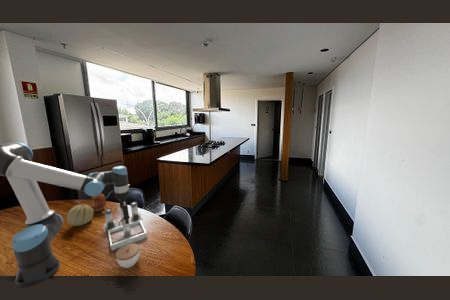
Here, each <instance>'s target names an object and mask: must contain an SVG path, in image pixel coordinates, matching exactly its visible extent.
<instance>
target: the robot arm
mask: <svg viewBox="0 0 450 300" xmlns="http://www.w3.org/2000/svg"><path fill="white" fill-rule="evenodd" d="M33 157H34V152H33V150H32V148H31V147H30V146H28V145H27V144H25V143H22V142H20V141H19V142H16V141H14V142H13V141H12V142H11V141H10V142H4V143H0V176H2V177H6V179H7V181H8V182H9V184H10V186H11V188H12V190H13V191H14V195H15V197H16V198H17V200H18V202H19V204H20V206H21V208H22V210H23V212H24V214H25V216H26V220H25V222H24V224H25V226H26V227H25V228H24V229H21V230H20V231H18V232H17V233H16V234H14V235H13V237H12V239H11V248H12V250H13V254H14V257H15V261H16V265H17V270H16V271H17V272H16V276H15V281H14V282H15V285H16V287H18V288H19V289H20V288H21V289H23V288H29V287H33V286H36V285H39V284H40V283H42V282H45V281H46V280H48V279H50V277H52V276H53V275H54V274H55V273H56V272H58V270H59V269H60V266H61V263H60V260H59V258H57V256H56V255H55V254H53V250H52V245H51V242H52V241H53V240H54V238H55V237H56V236H57V235H58V233H60V230H61V229H62V227H63V225H64V218H63V217H62V215H60V213H56V212H55V211H56V210H55V209H50V208H49V205H48V204H47V200H46V199H45V197H44V194H43V192H42V189H40V186H39V184H38V182H40V183H46V184H51V185H55V186H58V187H64V188H69V189H72V190H76V191H81V192H84V194H86V195H87V196H89V197H92V196H97V195H99V194H100V193H102V192H103V191H104V189H105V186H106V185H111V184H113V188H114V194H115V196H114V197H115V199H116V200H118V202H119V208H120V218H121V219H122V218H123V217H124V218H123V220H124V226H125V229H126V228H130V229H131V227H130V223H129V217H130V213H129V207H128V206H129V205H128V199H127V198H129V197H130V189H129V187H130V185H131V184H129V178H128V169H127V167H126V166H124V165H118V166H114V167H112V170H109V171H108V170H107V171H95V172H91V173H88V175H84V174H82V173H81V174H80V173H78V172H73V171H69V170H65V169H62V168H57V167H55V166H51V165H45V164H42V163H38V162H34V161H33V160H32V158H33Z"/></svg>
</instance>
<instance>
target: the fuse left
mask: <svg viewBox="0 0 450 300" xmlns="http://www.w3.org/2000/svg"><path fill="white" fill-rule="evenodd" d="M104 215H105V216H104V217H105V223H106V224H107V228H108V227H110V226H114V223H113V222H114V219H113V217H114V216H113V210H112V208H107V209H105V210H104Z"/></svg>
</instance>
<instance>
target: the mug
mask: <svg viewBox="0 0 450 300" xmlns="http://www.w3.org/2000/svg"><path fill="white" fill-rule="evenodd" d="M90 200H91V201H92V203H93V206H92V207H91V208H92V209H93V210H94V211H95V212H99V211H102V210H104V209H105V207H106V205H107V200H106V196H105V194H104V193H102V192H101V193H100V194H99V195H97V196H91V198H90Z"/></svg>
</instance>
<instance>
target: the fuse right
mask: <svg viewBox="0 0 450 300" xmlns="http://www.w3.org/2000/svg"><path fill="white" fill-rule="evenodd" d="M130 208H131V216H132V218H133V220H134V219H136V218H139V217H138V213H139V212H138V211H139V209H138V202H137V201H133V202H131V203H130Z"/></svg>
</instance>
